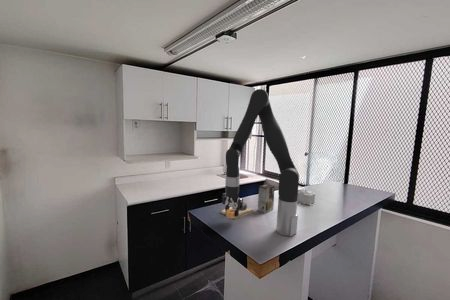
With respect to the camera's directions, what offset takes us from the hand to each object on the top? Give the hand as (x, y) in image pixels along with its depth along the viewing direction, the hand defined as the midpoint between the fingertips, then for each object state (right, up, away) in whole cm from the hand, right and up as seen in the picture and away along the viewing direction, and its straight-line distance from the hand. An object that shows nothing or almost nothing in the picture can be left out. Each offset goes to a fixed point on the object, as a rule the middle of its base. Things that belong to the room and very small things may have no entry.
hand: (231, 214), depth 117 cm
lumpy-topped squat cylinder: (+55, -3, +41) cm, 68 cm away
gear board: (+4, -4, +16) cm, 17 cm away
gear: (0, -1, 0) cm, 1 cm away
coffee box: (+23, -4, +22) cm, 31 cm away
